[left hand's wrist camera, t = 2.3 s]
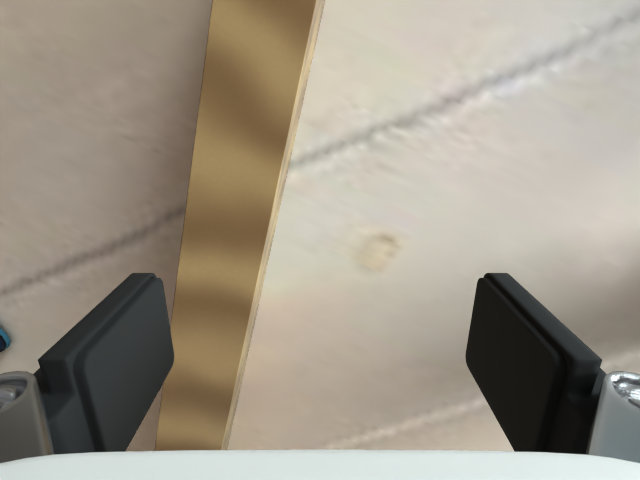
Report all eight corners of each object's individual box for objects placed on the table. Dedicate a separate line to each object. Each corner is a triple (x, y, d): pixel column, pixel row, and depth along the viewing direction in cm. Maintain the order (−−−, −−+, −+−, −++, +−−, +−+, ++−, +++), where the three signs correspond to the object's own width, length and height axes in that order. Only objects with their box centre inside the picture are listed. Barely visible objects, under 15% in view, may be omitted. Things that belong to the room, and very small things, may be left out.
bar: (260, -87, 23) (233, -165, 16) (339, -64, 24) (344, -130, 17) (161, 549, 44) (131, 630, 38) (203, 556, 45) (181, 638, 38)
